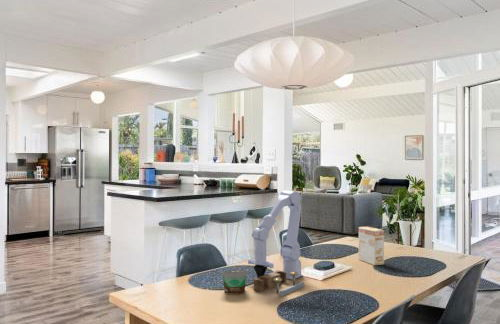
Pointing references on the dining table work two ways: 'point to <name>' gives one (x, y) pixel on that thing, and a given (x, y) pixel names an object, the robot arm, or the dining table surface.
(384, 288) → the dining table surface
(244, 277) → the food container
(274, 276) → the wooden notched bar
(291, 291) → the back rail
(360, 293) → the dining table surface
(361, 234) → the coffeecake box
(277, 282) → the keyhole posts
